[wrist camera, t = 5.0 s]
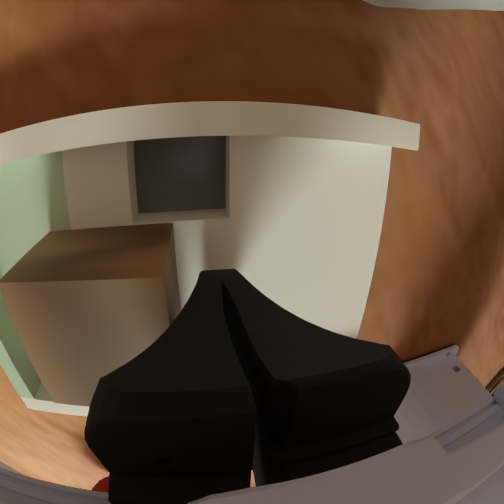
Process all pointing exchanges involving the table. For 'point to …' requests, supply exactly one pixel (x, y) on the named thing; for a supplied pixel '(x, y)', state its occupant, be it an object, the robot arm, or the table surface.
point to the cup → (441, 4)
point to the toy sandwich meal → (495, 383)
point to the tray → (210, 200)
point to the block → (92, 302)
